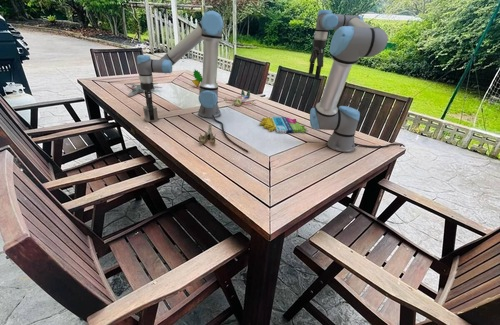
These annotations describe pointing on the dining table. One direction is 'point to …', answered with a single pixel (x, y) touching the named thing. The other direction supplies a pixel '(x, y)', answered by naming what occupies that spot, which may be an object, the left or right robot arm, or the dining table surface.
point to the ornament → (197, 78)
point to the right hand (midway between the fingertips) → (313, 76)
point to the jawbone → (207, 136)
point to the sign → (282, 125)
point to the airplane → (139, 89)
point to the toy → (241, 99)
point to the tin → (146, 114)
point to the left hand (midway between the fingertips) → (151, 117)
